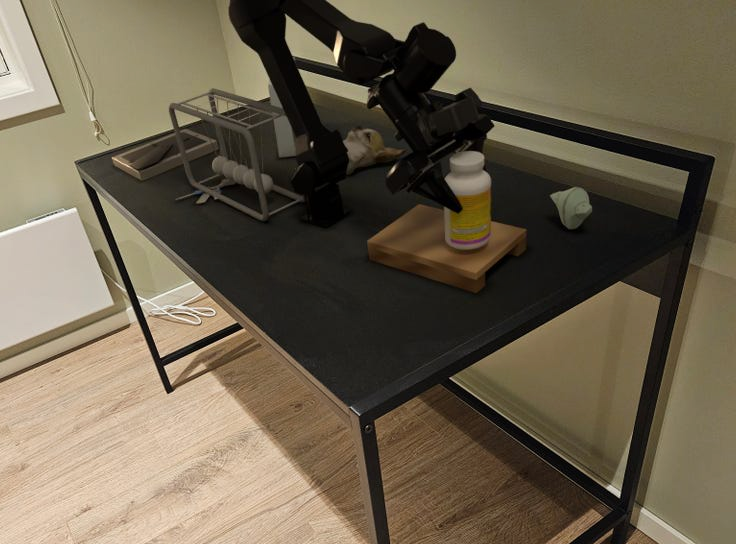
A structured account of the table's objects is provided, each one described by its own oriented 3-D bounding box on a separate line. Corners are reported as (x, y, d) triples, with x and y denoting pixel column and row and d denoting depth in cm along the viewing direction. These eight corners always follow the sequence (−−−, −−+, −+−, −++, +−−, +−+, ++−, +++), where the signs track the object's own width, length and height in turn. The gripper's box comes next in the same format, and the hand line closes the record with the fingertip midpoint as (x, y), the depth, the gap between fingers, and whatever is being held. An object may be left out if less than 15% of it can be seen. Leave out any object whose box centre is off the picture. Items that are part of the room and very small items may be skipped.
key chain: (232, 177, 142) (231, 173, 142) (252, 187, 137) (251, 183, 136) (175, 201, 137) (174, 197, 137) (193, 212, 131) (192, 208, 131)
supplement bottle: (498, 244, 96) (500, 160, 88) (455, 256, 95) (454, 172, 87) (478, 225, 101) (478, 144, 93) (438, 235, 101) (434, 155, 93)
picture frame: (142, 181, 149) (219, 149, 158) (138, 169, 148) (216, 137, 156) (114, 165, 160) (188, 136, 168) (110, 154, 158) (184, 125, 167)
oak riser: (369, 259, 107) (366, 240, 105) (420, 222, 114) (419, 203, 112) (476, 293, 95) (476, 272, 93) (525, 249, 102) (526, 229, 100)
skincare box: (303, 155, 146) (290, 81, 136) (279, 159, 147) (264, 86, 137) (306, 123, 163) (294, 55, 153) (284, 126, 163) (271, 58, 153)
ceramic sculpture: (315, 128, 133) (377, 110, 138) (319, 170, 138) (379, 151, 143) (343, 141, 125) (407, 122, 130) (346, 185, 130) (408, 164, 135)
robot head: (544, 223, 107) (546, 184, 103) (564, 215, 108) (567, 176, 104) (579, 241, 101) (583, 201, 97) (600, 233, 102) (605, 192, 98)
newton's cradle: (188, 185, 142) (165, 101, 131) (229, 168, 146) (209, 86, 135) (267, 225, 122) (247, 130, 111) (311, 204, 126) (296, 111, 115)
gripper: (394, 98, 82) (468, 200, 82) (484, 54, 91) (550, 145, 91) (356, 149, 92) (421, 239, 92) (440, 104, 100) (500, 186, 100)
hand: (475, 201), depth 93 cm, fingers closed on supplement bottle, 6 cm apart
